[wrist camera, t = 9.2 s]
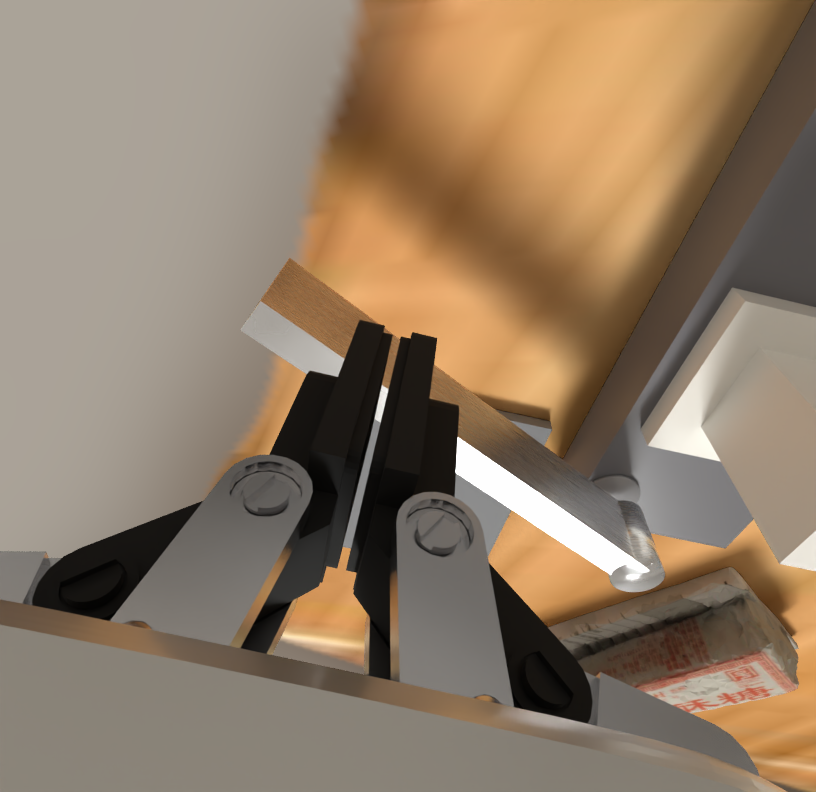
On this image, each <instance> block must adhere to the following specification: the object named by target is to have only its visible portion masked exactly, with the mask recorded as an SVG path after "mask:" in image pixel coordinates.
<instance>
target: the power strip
mask: <svg viewBox="0 0 816 792" xmlns="http://www.w3.org/2000/svg"><path fill="white" fill-rule="evenodd" d="M731 288H736V289H741V290H745V291H749V292H753V293H757V294H762V295H766V296H770V297H774V298H779V299H783V300H787V301H791V302H795V303H800V304H804V305H808V306H812V307H816V0H815V1H814V3H813V5H812V7H811V9H810V10H809V12H808V14H807V16H806V18H805V19H804V21H803V23H802V25H801V27H800V29H799V30H798V32H797V34H796V36H795V38H794V39H793V41H792V43H791V45H790V47H789V49H788V50H787V52H786V54H785V56H784V58H783V60H782V61H781V63H780V65H779V67H778V69H777V70H776V72H775V74H774V76H773V78H772V80H771V81H770V83H769V85H768V87H767V89H766V90H765V92H764V94H763V96H762V98H761V100H760V101H759V103H758V105H757V107H756V109H755V110H754V112H753V114H752V116H751V118H750V120H749V121H748V123H747V125H746V127H745V129H744V131H743V132H742V134H741V136H740V138H739V140H738V141H737V143H736V145H735V147H734V149H733V151H732V152H731V154H730V156H729V158H728V160H727V161H726V163H725V165H724V167H723V169H722V171H721V172H720V174H719V176H718V178H717V180H716V182H715V183H714V185H713V187H712V189H711V191H710V192H709V194H708V196H707V198H706V200H705V202H704V203H703V205H702V207H701V209H700V211H699V212H698V214H697V216H696V218H695V220H694V222H693V223H692V225H691V227H690V229H689V231H688V232H687V234H686V236H685V238H684V240H683V242H682V243H681V245H680V247H679V249H678V251H677V253H676V254H675V256H674V258H673V260H672V262H671V263H670V265H669V267H668V269H667V271H666V273H665V274H664V276H663V278H662V280H661V282H660V283H659V285H658V287H657V289H656V291H655V293H654V294H653V296H652V298H651V300H650V302H649V304H648V305H647V307H646V309H645V311H644V313H643V314H642V316H641V318H640V320H639V322H638V324H637V325H636V327H635V329H634V331H633V333H632V334H631V336H630V338H629V340H628V342H627V344H626V345H625V347H624V349H623V351H622V353H621V354H620V356H619V358H618V360H617V362H616V364H615V365H614V367H613V369H612V371H611V373H610V375H609V376H608V378H607V380H606V382H605V384H604V385H603V387H602V389H601V391H600V393H599V395H598V396H597V398H596V400H595V402H594V404H593V405H592V407H591V409H590V411H589V413H588V415H587V416H586V418H585V420H584V422H583V424H582V425H581V427H580V429H579V431H578V433H577V435H576V436H575V438H574V440H573V442H572V444H571V446H570V447H569V449H568V451H567V453H566V455H565V456H564V458H563V460H564V461H565V462H567V463H568V464H569V465H571V466H572V467H573V468H575V469H576V470H577V471H579V472H580V473H581V474H583V475H584V476H586V477H587V478H588V479H590V480H591V481H592V482H594V483H595V484H596V485H598V486H599V487H600V488H602V489H603V490H604V491H606V492H607V493H609V494H610V495H611V496H613V497H614V498H615V499H617V500H626V501H631V502H634V503H636V504H638V505H639V506H640V507H641V509H642V511H643V514H644V516H645V519H646V522H647V525H648V527H649V530H650V533H653V534H658V535H662V536H667V537H672V538H677V539H682V540H687V541H692V542H697V543H702V544H706V545H711V546H716V547H721V548H726V547H727V546H728V545H729V544H730V543H731V542H732V541H733V540H734V539H735V538H736V537H737V536H738V535H739V534H740V533H741V532H742V531H743V530H744V528H745V527H746V526H747V525H748V524H749V523H750V522H751V521H752V520H753V517H752V515H751V513H750V512H749V510H748V508H747V506H746V505H745V503H744V501H743V499H742V498H741V496H740V494H739V492H738V491H737V489H736V487H735V485H734V484H733V482H732V480H731V478H730V477H729V475H728V473H727V471H726V470H725V468H724V466H723V464H722V463H721V462H720V461H716V460H711V459H706V458H702V457H697V456H693V455H688V454H683V453H679V452H674V451H669V450H665V449H660V448H655V447H651V446H648V445H647V443H646V441H645V438H644V436H643V434H642V431H641V428H642V426H643V425H644V423H645V422H646V420H647V418H648V417H649V415H650V414H651V412H652V411H653V409H654V408H655V406H656V405H657V403H658V401H659V400H660V398H661V397H662V395H663V394H664V392H665V391H666V389H667V388H668V386H669V384H670V383H671V381H672V380H673V378H674V377H675V375H676V374H677V372H678V370H679V369H680V367H681V366H682V364H683V363H684V361H685V360H686V358H687V357H688V355H689V353H690V352H691V350H692V349H693V347H694V346H695V344H696V343H697V341H698V340H699V338H700V336H701V335H702V333H703V332H704V330H705V329H706V327H707V326H708V324H709V322H710V321H711V319H712V318H713V316H714V315H715V313H716V312H717V310H718V309H719V307H720V305H721V304H722V302H723V301H724V299H725V298H726V296H727V295H728V293H729V292H730V290H731Z"/></svg>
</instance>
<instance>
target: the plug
mask: <svg viewBox="0 0 816 792" xmlns="http://www.w3.org/2000/svg"><path fill="white" fill-rule="evenodd" d="M641 431H642V434H643V436H644V438H645V441H646V443H647V445H648V446H651V447H655V448H660V449H665V450H669V451H674V452H679V453H683V454H688V455H693V456H697V457H702V458H706V459H711V460H716V461H720V462H721V463H722V464H723V466H724V468H725V470H726V471H727V473H728V475H729V477H730V478H731V480H732V482H733V484H734V485H735V487H736V489H737V491H738V492H739V494H740V496H741V498H742V499H743V501H744V503H745V505H746V506H747V508H748V510H749V512H750V513H751V515H752V517H753V519H754V520H755V522H756V524H757V526H758V527H759V529H760V531H761V533H762V534H763V536H764V538H765V540H766V541H767V543H768V545H769V547H770V548H771V550H772V552H773V553H774V555H775V557H776V559H777V560H778V562H779V564H783V565H788V566H793V567H798V568H803V569H808V570H812V571H816V307H812V306H808V305H804V304H800V303H795V302H791V301H787V300H783V299H779V298H774V297H770V296H766V295H762V294H757V293H753V292H749V291H745V290H741V289H736V288H731V290H730V292H729V293H728V295H727V296H726V298H725V299H724V301H723V302H722V304H721V305H720V307H719V309H718V310H717V312H716V313H715V315H714V316H713V318H712V319H711V321H710V322H709V324H708V326H707V327H706V329H705V330H704V332H703V333H702V335H701V336H700V338H699V340H698V341H697V343H696V344H695V346H694V347H693V349H692V350H691V352H690V353H689V355H688V357H687V358H686V360H685V361H684V363H683V364H682V366H681V367H680V369H679V370H678V372H677V374H676V375H675V377H674V378H673V380H672V381H671V383H670V384H669V386H668V388H667V389H666V391H665V392H664V394H663V395H662V397H661V398H660V400H659V401H658V403H657V405H656V406H655V408H654V409H653V411H652V412H651V414H650V415H649V417H648V418H647V420H646V422H645V423H644V425H643V426H642V428H641Z"/></svg>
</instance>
